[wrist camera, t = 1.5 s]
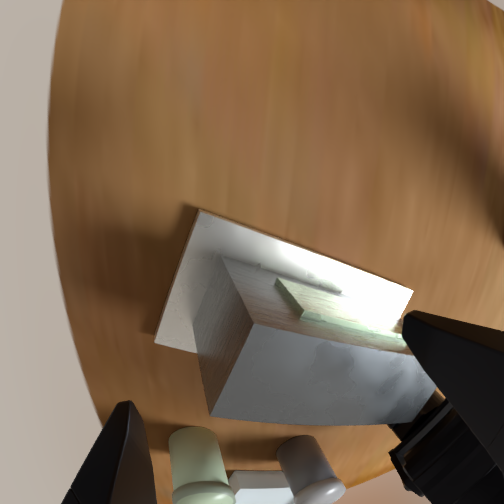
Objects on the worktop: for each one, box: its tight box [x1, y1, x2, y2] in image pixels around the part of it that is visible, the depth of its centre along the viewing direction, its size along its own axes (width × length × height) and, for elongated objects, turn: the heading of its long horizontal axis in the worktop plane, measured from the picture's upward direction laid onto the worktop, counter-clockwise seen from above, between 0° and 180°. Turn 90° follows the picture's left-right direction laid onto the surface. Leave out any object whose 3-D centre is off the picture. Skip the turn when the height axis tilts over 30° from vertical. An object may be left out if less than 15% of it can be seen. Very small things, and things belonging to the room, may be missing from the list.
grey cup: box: [276, 435, 346, 504], centre depth 25 cm, size 5×5×7 cm
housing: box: [154, 209, 437, 425], centre depth 19 cm, size 18×9×9 cm, turn 67°
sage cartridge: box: [169, 427, 236, 504], centre depth 22 cm, size 5×5×7 cm
